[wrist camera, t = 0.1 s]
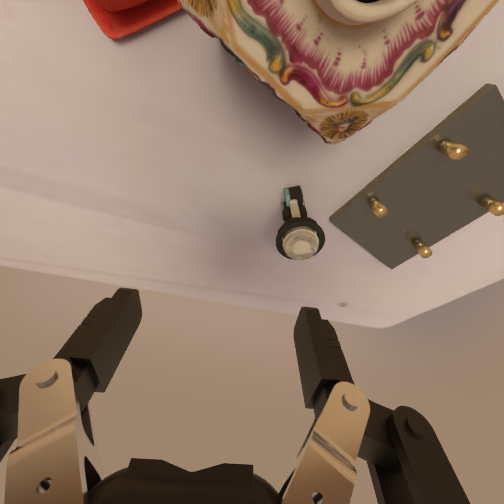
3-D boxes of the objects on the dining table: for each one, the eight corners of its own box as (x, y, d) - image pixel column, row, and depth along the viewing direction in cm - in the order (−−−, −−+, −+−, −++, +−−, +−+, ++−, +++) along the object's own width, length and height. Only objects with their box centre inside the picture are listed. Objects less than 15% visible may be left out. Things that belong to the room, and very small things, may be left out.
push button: (312, 222, 35) (326, 271, 27) (276, 227, 36) (280, 276, 28) (310, 180, 30) (327, 223, 23) (270, 187, 31) (273, 231, 24)
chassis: (486, 83, 23) (517, 88, 21) (536, 173, 29) (565, 187, 26) (329, 217, 34) (335, 232, 31) (388, 264, 40) (398, 280, 37)
